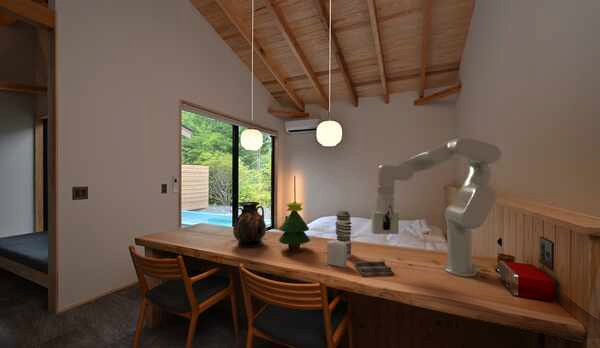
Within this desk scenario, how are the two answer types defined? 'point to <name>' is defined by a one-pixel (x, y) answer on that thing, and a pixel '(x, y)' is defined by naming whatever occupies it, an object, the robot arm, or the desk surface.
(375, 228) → the pale sage cube
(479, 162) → the robot arm
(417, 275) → the desk surface
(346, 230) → the grey layered cylinder
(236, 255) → the desk surface
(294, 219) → the decorative tree
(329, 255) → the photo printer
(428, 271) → the desk surface
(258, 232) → the amphora vase
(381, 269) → the door track
